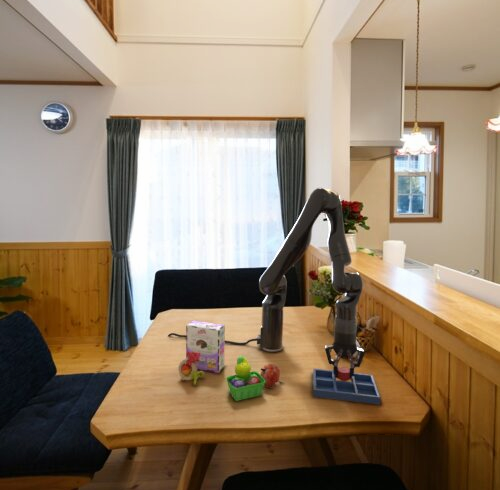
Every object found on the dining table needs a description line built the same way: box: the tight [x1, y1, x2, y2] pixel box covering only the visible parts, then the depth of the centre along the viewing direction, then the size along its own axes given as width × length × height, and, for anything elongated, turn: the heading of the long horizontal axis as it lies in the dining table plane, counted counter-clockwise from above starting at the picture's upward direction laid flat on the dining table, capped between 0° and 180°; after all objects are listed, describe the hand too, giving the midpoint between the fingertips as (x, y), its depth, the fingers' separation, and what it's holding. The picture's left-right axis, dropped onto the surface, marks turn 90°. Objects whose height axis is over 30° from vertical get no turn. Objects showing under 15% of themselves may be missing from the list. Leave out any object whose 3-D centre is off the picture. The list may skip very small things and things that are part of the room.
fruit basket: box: [225, 355, 265, 402], centre depth 114 cm, size 11×9×11 cm
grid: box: [312, 368, 381, 405], centre depth 119 cm, size 21×14×2 cm
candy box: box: [185, 320, 226, 374], centre depth 131 cm, size 14×6×16 cm, turn 71°
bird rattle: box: [178, 351, 205, 386], centre depth 121 cm, size 6×11×9 cm
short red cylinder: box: [337, 366, 350, 381], centre depth 122 cm, size 4×4×3 cm
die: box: [352, 339, 361, 358], centre depth 144 cm, size 8×9×10 cm
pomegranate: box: [259, 363, 282, 389], centre depth 120 cm, size 7×7×10 cm
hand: (343, 376), depth 122 cm, fingers closed on short red cylinder, 4 cm apart
